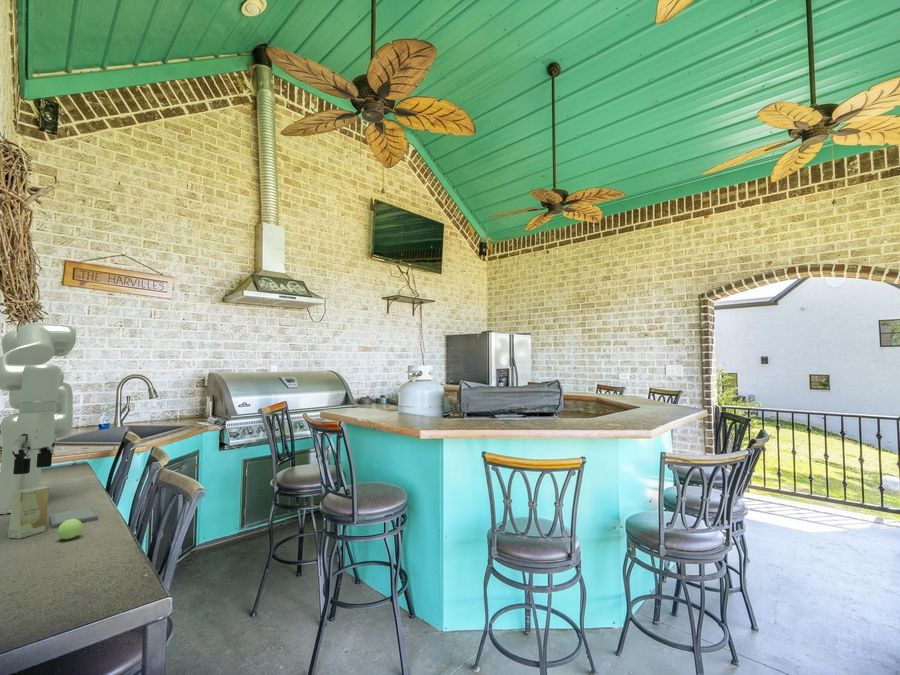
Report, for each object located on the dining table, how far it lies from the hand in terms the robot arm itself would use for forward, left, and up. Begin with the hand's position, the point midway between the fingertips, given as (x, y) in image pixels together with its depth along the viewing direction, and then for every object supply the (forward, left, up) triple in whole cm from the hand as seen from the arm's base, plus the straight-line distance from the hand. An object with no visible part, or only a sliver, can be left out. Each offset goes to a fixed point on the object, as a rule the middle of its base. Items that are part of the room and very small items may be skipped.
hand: (33, 470), depth 116 cm
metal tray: (-12, +5, -17) cm, 22 cm away
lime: (+8, +13, -17) cm, 23 cm away
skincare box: (0, 0, -18) cm, 18 cm away
